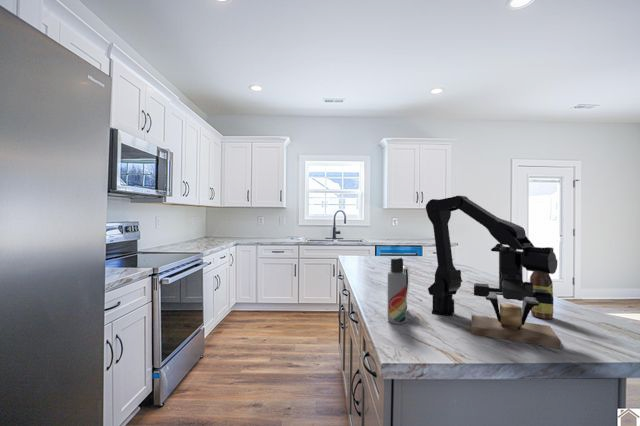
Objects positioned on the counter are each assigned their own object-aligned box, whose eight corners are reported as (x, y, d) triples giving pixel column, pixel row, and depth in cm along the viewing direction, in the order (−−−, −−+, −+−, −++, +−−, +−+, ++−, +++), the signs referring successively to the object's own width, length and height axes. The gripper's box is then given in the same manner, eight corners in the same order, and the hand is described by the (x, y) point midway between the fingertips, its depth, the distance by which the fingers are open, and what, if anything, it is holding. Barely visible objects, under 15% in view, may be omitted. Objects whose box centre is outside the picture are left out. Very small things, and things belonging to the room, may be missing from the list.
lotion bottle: (403, 325, 89) (403, 259, 90) (384, 322, 92) (385, 257, 93) (408, 320, 94) (408, 257, 95) (390, 317, 97) (391, 256, 98)
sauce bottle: (557, 320, 96) (557, 259, 96) (536, 319, 97) (535, 258, 98) (546, 314, 102) (546, 256, 103) (526, 312, 103) (526, 256, 104)
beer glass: (411, 308, 107) (412, 267, 107) (406, 313, 101) (406, 269, 101) (393, 305, 110) (393, 265, 111) (386, 310, 104) (386, 267, 105)
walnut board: (471, 333, 83) (471, 326, 84) (471, 321, 94) (471, 314, 94) (560, 348, 74) (560, 340, 74) (549, 332, 85) (549, 325, 85)
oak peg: (500, 331, 83) (500, 307, 83) (499, 325, 88) (499, 303, 88) (523, 335, 81) (523, 310, 81) (520, 329, 85) (520, 305, 86)
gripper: (474, 269, 82) (474, 326, 81) (558, 276, 73) (559, 339, 73) (473, 264, 92) (473, 315, 91) (548, 269, 83) (548, 325, 83)
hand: (510, 323), depth 84 cm, fingers closed on oak peg, 5 cm apart
